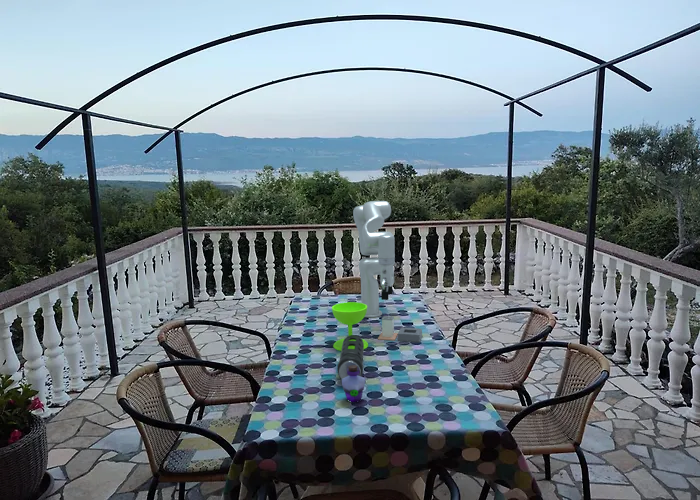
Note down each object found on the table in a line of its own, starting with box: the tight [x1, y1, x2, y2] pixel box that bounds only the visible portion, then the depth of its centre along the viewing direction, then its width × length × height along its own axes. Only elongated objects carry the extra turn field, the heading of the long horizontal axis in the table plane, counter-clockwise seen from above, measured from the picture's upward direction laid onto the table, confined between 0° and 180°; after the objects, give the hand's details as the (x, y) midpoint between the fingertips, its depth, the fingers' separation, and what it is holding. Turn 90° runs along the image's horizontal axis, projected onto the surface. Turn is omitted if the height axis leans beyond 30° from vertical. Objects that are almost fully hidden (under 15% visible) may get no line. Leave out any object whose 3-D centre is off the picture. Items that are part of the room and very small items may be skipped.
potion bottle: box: [341, 365, 366, 402], centre depth 163 cm, size 9×9×12 cm
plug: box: [381, 315, 395, 337], centre depth 224 cm, size 5×4×9 cm
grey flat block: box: [397, 327, 423, 343], centre depth 221 cm, size 10×9×4 cm
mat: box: [377, 332, 398, 342], centre depth 225 cm, size 8×9×1 cm
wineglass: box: [331, 301, 369, 352], centre depth 214 cm, size 16×16×18 cm
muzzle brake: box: [336, 334, 365, 380], centre depth 187 cm, size 10×28×10 cm, turn 177°
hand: (387, 296), depth 222 cm, fingers open, 9 cm apart
